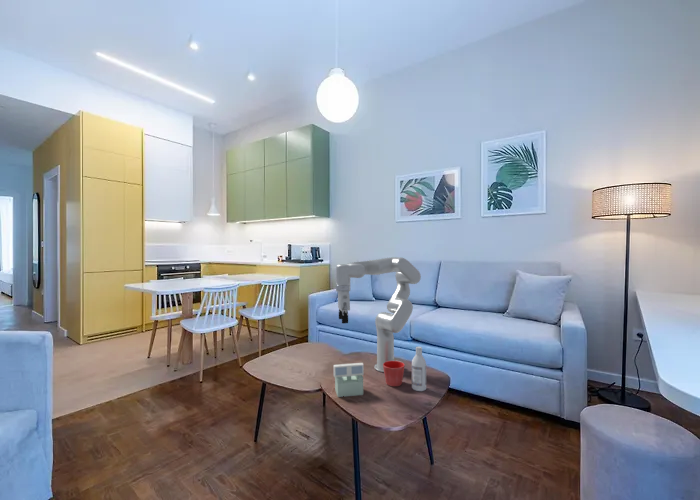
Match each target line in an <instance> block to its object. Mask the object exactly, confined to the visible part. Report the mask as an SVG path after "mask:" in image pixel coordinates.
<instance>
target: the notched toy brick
mask: <svg viewBox="0 0 700 500" xmlns="http://www.w3.org/2000/svg"><path fill="white" fill-rule="evenodd" d="M334 390H335V393H336V397H337V398H340V397H341V398H342V397H343V396H344V397H352V396H353V397H354V396H363V395H364V375H359V376H347V377H334Z"/></svg>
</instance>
